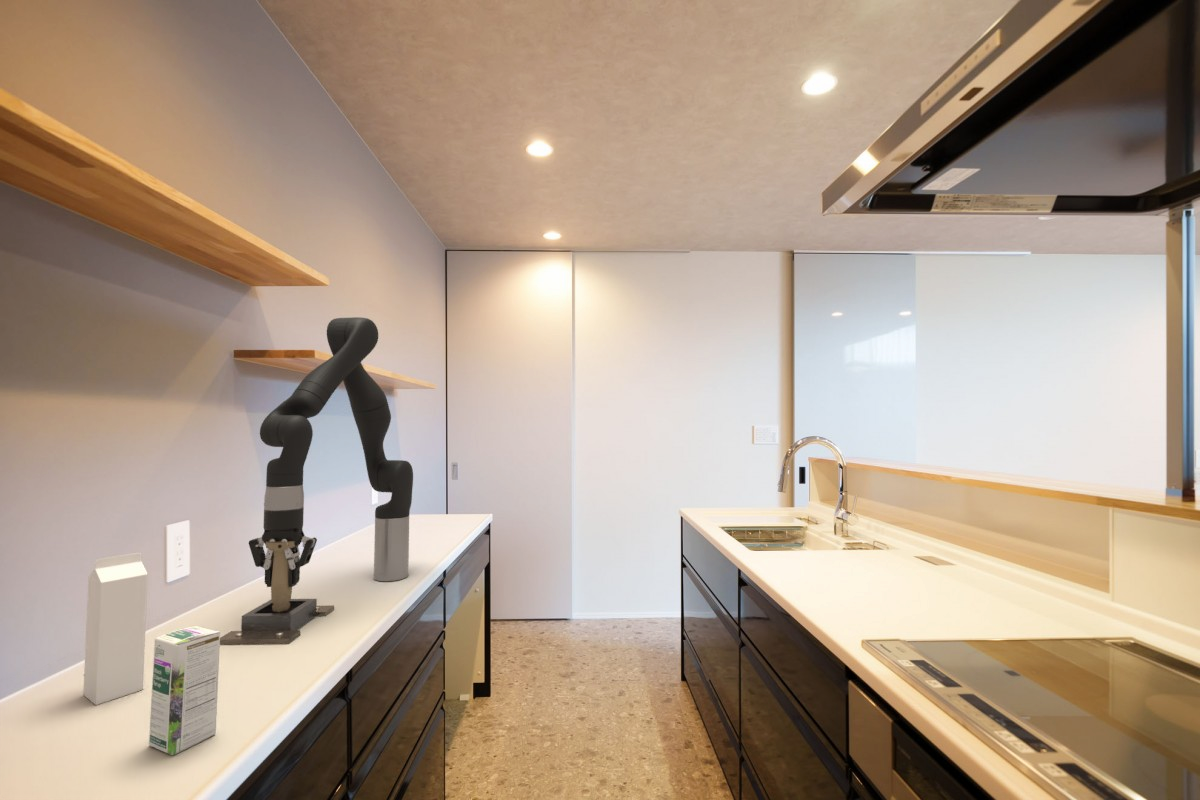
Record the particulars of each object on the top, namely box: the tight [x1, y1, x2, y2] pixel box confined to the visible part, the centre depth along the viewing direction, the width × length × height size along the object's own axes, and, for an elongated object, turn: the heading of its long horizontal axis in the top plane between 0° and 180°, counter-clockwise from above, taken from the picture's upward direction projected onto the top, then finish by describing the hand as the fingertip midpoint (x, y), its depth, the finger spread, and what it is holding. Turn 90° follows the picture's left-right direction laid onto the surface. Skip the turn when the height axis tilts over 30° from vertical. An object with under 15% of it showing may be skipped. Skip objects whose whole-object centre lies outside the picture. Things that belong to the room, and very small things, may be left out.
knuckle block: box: [220, 598, 335, 646], centre depth 118 cm, size 20×14×4 cm
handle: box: [265, 541, 300, 612], centre depth 118 cm, size 5×6×15 cm
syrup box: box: [148, 625, 221, 756], centre depth 76 cm, size 6×6×14 cm
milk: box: [82, 552, 149, 706], centre depth 89 cm, size 6×6×22 cm
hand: (281, 585), depth 118 cm, fingers closed on handle, 4 cm apart
